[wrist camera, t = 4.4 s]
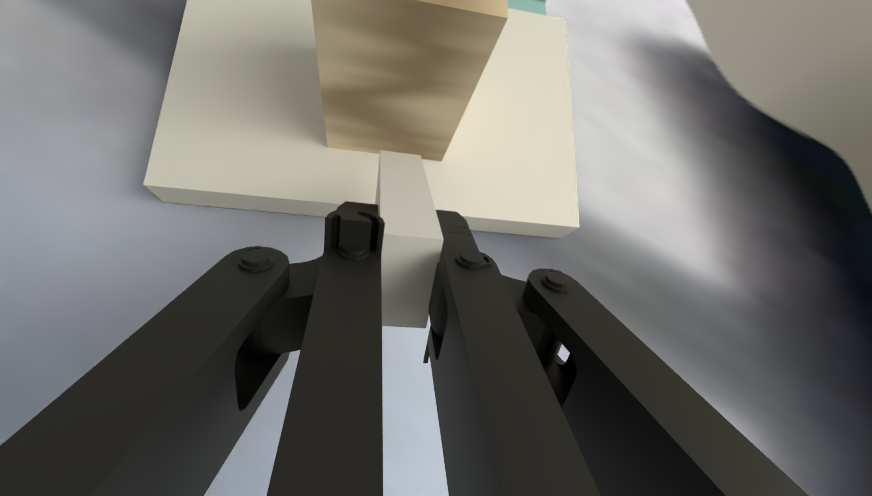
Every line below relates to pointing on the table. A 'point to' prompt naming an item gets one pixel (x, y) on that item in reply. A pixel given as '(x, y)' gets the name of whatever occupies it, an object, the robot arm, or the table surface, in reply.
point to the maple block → (401, 69)
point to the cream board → (344, 169)
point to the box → (528, 6)
